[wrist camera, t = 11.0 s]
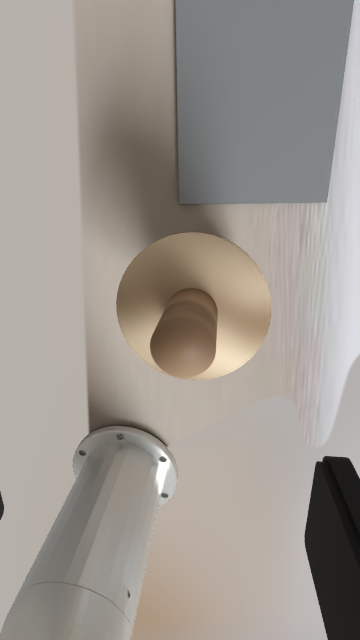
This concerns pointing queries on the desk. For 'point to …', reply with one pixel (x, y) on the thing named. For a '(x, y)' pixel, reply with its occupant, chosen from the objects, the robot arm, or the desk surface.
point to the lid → (194, 306)
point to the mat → (258, 98)
